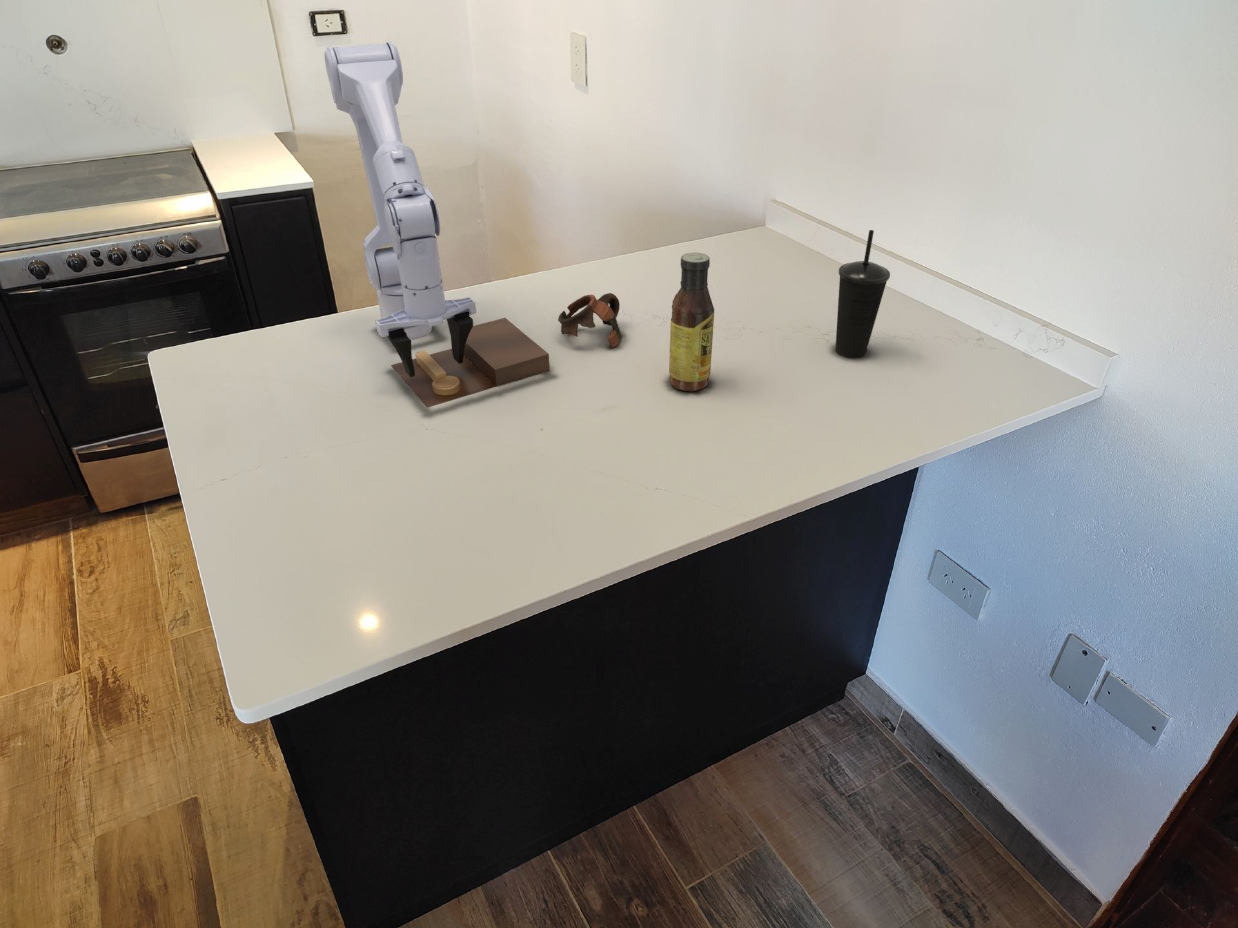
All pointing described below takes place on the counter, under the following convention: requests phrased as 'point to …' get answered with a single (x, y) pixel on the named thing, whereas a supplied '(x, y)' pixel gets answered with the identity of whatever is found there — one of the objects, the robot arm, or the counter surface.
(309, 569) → the counter surface
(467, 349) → the step shelf
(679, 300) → the sauce bottle
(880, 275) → the drinking cup
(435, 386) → the spoon
